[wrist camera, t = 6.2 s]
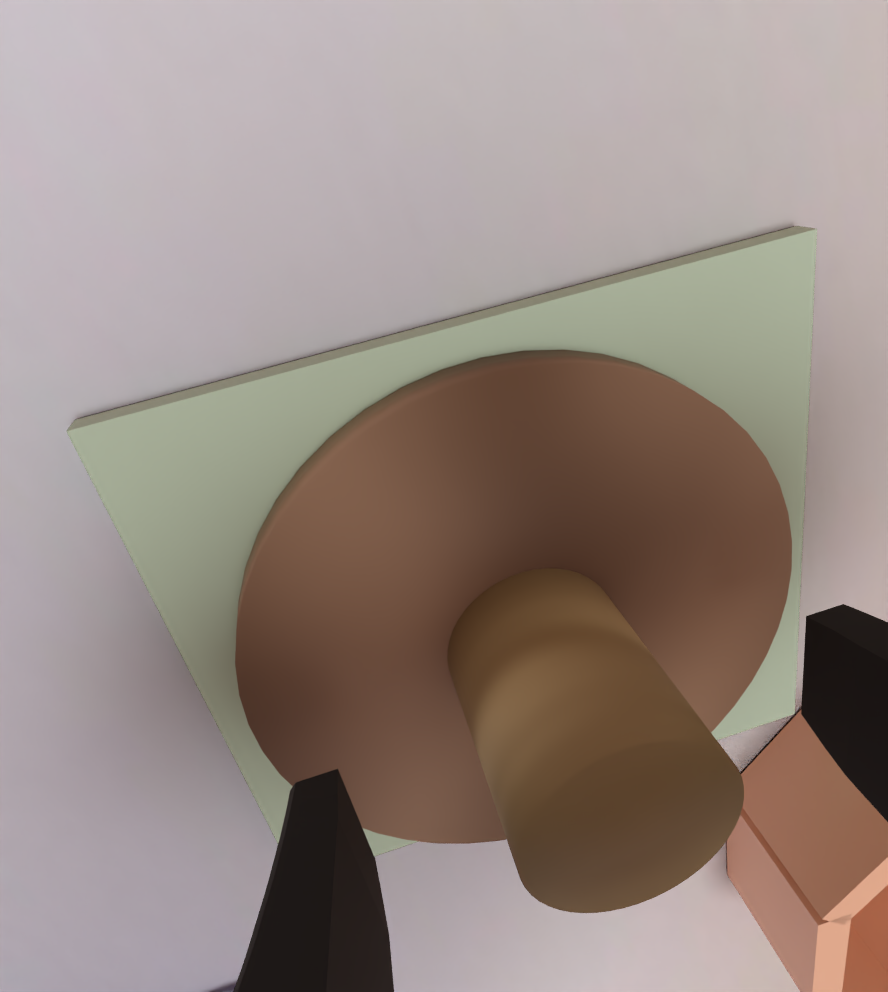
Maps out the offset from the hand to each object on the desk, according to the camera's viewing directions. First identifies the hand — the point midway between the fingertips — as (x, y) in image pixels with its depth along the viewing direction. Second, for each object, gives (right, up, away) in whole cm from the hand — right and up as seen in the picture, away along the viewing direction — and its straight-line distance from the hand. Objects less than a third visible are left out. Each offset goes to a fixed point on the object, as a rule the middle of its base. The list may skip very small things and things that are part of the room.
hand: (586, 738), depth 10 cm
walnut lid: (-1, +1, +3) cm, 3 cm away
